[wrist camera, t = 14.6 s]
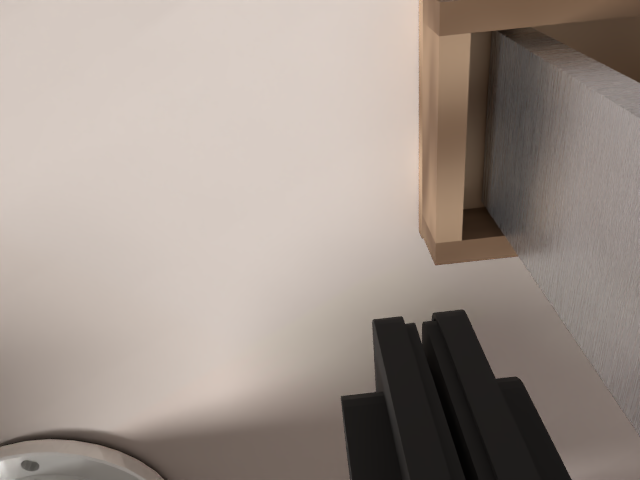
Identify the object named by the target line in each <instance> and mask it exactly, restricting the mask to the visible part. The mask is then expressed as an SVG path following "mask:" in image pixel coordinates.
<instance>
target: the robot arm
mask: <svg viewBox="0 0 640 480" xmlns="http://www.w3.org/2000/svg"><path fill="white" fill-rule="evenodd" d="M372 325H373V344H374V362H375V380H376V392H374V393H365V394H357V395H348V396H341V402H342V412H343V422H344V432H345V441H346V450H347V458H348V466H349V475H350V480H571V478H570V476H569V474H568V472H567V470H566V468H565V466H564V464H563V462H562V460H561V458H560V456H559V454H558V452H557V450H556V448H555V446H554V444H553V442H552V440H551V438H550V436H549V434H548V432H547V430H546V428H545V426H544V424H543V422H542V420H541V418H540V416H539V414H538V412H537V410H536V408H535V406H534V404H533V402H532V400H531V398H530V396H529V394H528V392H527V390H526V388H525V386H524V385H523V383H522V382H521V380H520V379H519V378H518V377H508V378H499V379H495V376H494V374H493V372H492V370H491V367H490V365H489V363H488V361H487V359H486V356H485V354H484V352H483V350H482V347H481V345H480V343H479V341H478V339H477V336H476V334H475V332H474V330H473V328H472V325H471V323H470V321H469V319H468V316H467V314H466V313H465V311H464V310H455V311H446V312H437V313H433V315H432V321H427V322H423V324H422V343H421V340H420V337H419V334H418V331H417V327H416V325H415V323H409V324H405V322H404V319H403V317H402V316H401V317H392V318H383V319H374V320H373V322H372ZM0 480H164V479H163V478H162V477H161V476H160V475H159V474H158V473H157V472H156V471H154V470H153V469H151V468H150V467H148V466H147V465H145V464H144V463H142V462H141V461H139V460H137V459H135V458H133V457H131V456H129V455H127V454H124V453H122V452H120V451H117V450H114V449H111V448H108V447H104V446H101V445H98V444H92V443H87V442H81V441H75V440H58V439H45V440H32V441H24V442H19V443H15V444H10V445H6V446H2V447H0Z"/></svg>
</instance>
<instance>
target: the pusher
mask: <svg viewBox="0 0 640 480" xmlns="http://www.w3.org/2000/svg"><path fill="white" fill-rule="evenodd" d="M481 201H482V203H483V204H484V206H485V207H486V209H487V210H488V212H489V213H490V215H491V216H492V218H493V219H494V221H495V222H496V224H497V225H498V227H499V228H500V230H501V231H502V233H503V234H504V236H505V237H506V239H507V240H508V241H509V243H510V244H511V246H512V247H513V249H514V250H515V252H516V253H517V255H518V256H519V258H520V259H521V261H522V262H523V264H524V265H525V267H526V268H527V270H528V271H529V273H530V274H531V276H532V277H533V279H534V280H535V282H536V283H537V285H538V286H539V288H540V289H541V290H542V292H543V293H544V295H545V296H546V298H547V299H548V301H549V302H550V304H551V305H552V307H553V308H554V310H555V311H556V313H557V314H558V316H559V317H560V319H561V320H562V322H563V323H564V325H565V326H566V328H567V329H568V331H569V332H570V334H571V335H572V337H573V338H574V339H575V341H576V342H577V344H578V345H579V347H580V348H581V350H582V351H583V353H584V354H585V356H586V357H587V359H588V360H589V362H590V363H591V365H592V366H593V368H594V369H595V371H596V372H597V374H598V375H599V377H600V378H601V380H602V381H603V383H604V384H605V386H606V387H607V388H608V390H609V391H610V393H611V394H612V396H613V397H614V399H615V400H616V402H617V403H618V405H619V406H620V408H621V409H622V411H623V412H624V414H625V415H626V417H627V418H628V420H629V421H630V423H631V424H632V426H633V427H634V429H635V430H636V432H637V433H638V435H639V436H640V83H639V82H637V81H635V80H633V79H631V78H629V77H627V76H625V75H623V74H621V73H619V72H617V71H615V70H613V69H611V68H610V67H608V66H606V65H604V64H602V63H600V62H598V61H596V60H594V59H592V58H590V57H588V56H586V55H584V54H582V53H580V52H578V51H576V50H575V49H573V48H571V47H569V46H567V45H565V44H563V43H561V42H559V41H557V40H555V39H553V38H551V37H549V36H547V35H545V34H543V33H541V32H540V31H538V30H536V29H534V28H532V27H525V28H515V29H505V30H496V31H492V37H491V53H490V69H489V86H488V102H487V118H486V134H485V150H484V167H483V183H482V199H481Z"/></svg>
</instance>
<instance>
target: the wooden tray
mask: <svg viewBox="0 0 640 480" xmlns="http://www.w3.org/2000/svg"><path fill="white" fill-rule="evenodd" d="M525 27H532V28H534V29H536V30H538V31H540V32H541V33H543V34H545V35H547V36H549V37H551V38H553V39H555V40H557V41H559V42H561V43H563V44H565V45H567V46H569V47H571V48H573V49H575V50H576V51H578V52H580V53H582V54H584V55H586V56H588V57H590V58H592V59H594V60H596V61H598V62H600V63H602V64H604V65H606V66H608V67H610V68H611V69H613V70H615V71H617V72H619V73H621V74H623V75H625V76H627V77H629V78H631V79H633V80H635V81H637V82H639V83H640V0H419V233H420V235H421V237H422V238H424V240H425V243H426V245H427V247H428V250H429V252H430V254H431V257H432V259H433V261H434V263H435V265H442V264H452V263H461V262H470V261H479V260H488V259H498V258H507V257H516V256H518V255H517V253H516V252H515V250H514V249H513V247H512V246H511V244H510V243H509V241H508V240H507V239H506V237H505V236H504V234H503V233H502V231H501V230H500V228H499V227H498V225H497V224H496V222H495V221H494V219H493V218H492V216H491V215H490V213H489V212H488V210H487V209H486V207H485V206H484V204H483V203H482V201H481V199H482V183H483V167H484V150H485V134H486V118H487V102H488V86H489V69H490V53H491V37H492V31H496V30H505V29H515V28H525Z"/></svg>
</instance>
